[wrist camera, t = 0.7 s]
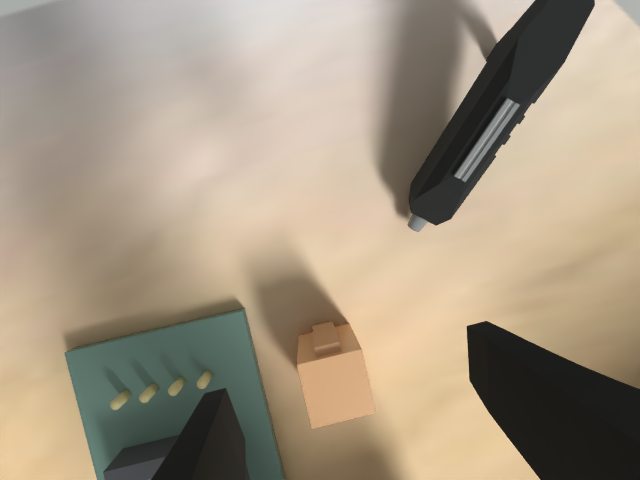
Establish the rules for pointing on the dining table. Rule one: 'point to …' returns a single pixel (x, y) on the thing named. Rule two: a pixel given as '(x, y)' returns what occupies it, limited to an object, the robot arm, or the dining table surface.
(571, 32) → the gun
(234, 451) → the robot arm
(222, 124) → the dining table surface
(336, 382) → the plug
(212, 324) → the header board
